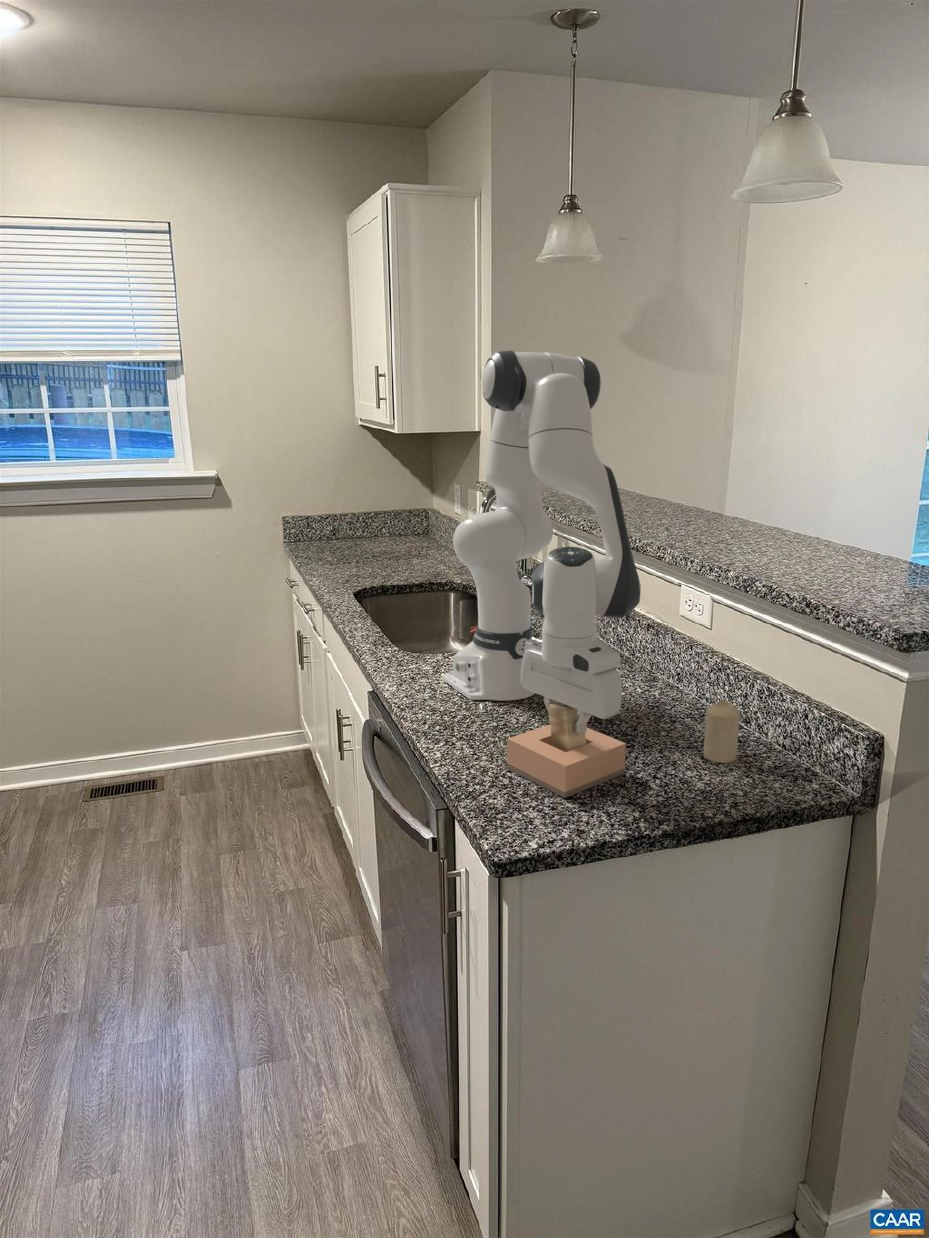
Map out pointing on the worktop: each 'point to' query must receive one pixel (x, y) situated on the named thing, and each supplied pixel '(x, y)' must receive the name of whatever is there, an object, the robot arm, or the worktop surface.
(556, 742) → the peg
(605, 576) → the robot arm
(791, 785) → the worktop surface
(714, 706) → the candle
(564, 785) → the well block
